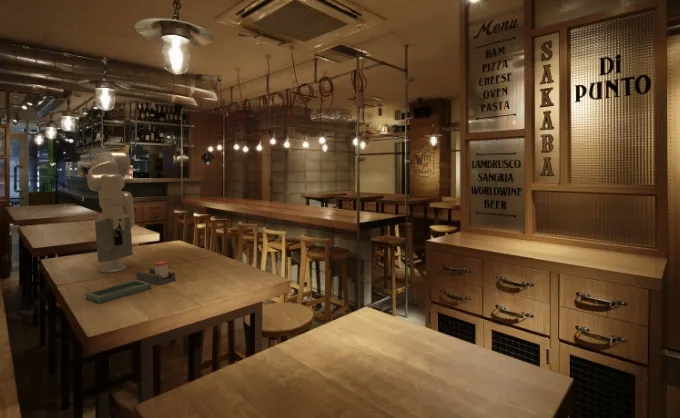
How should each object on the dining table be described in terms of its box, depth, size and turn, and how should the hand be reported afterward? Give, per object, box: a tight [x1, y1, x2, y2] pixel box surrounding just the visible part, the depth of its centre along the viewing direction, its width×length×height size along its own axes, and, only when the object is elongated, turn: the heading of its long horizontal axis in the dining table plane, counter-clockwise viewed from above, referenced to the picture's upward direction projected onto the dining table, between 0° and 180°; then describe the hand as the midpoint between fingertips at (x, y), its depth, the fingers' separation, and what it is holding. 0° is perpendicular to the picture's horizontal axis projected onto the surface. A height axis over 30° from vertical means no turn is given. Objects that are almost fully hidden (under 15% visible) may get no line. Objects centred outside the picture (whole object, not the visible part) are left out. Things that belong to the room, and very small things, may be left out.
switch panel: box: [135, 267, 176, 286], centre depth 199 cm, size 18×9×4 cm, turn 58°
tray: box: [84, 279, 152, 304], centre depth 178 cm, size 11×23×2 cm, turn 148°
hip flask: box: [94, 217, 133, 263], centre depth 176 cm, size 16×4×20 cm, turn 156°
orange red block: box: [153, 260, 169, 278], centre depth 196 cm, size 4×5×7 cm
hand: (115, 244), depth 176 cm, fingers closed on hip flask, 4 cm apart
